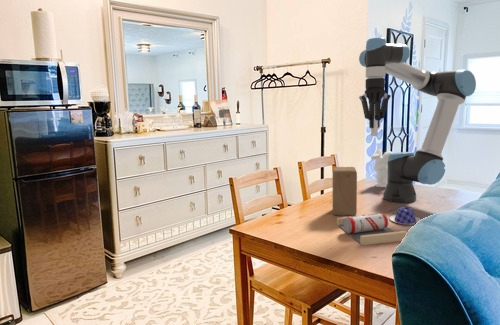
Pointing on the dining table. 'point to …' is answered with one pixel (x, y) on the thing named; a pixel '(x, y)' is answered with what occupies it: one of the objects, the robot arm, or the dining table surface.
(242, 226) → the dining table surface
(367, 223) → the beer can
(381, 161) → the cherub figurine
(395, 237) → the cradle
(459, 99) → the robot arm
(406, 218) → the pudding
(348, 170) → the wooden block
